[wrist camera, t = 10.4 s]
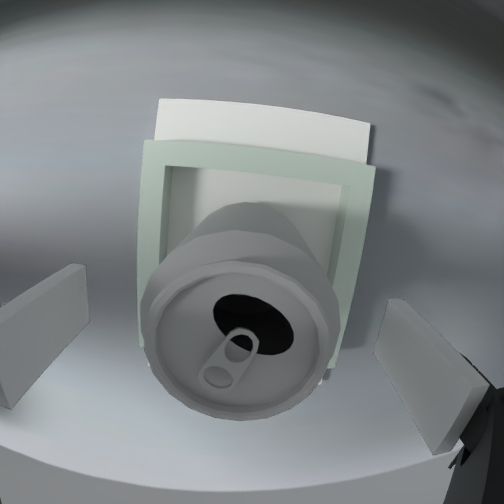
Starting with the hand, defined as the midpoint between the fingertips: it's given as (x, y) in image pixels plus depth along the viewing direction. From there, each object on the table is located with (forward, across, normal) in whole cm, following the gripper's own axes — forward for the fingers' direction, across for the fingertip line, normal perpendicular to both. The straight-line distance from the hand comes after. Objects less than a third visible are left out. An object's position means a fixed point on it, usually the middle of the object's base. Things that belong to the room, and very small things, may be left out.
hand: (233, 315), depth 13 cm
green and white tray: (+9, 0, 0) cm, 9 cm away
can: (+9, 0, 0) cm, 9 cm away
